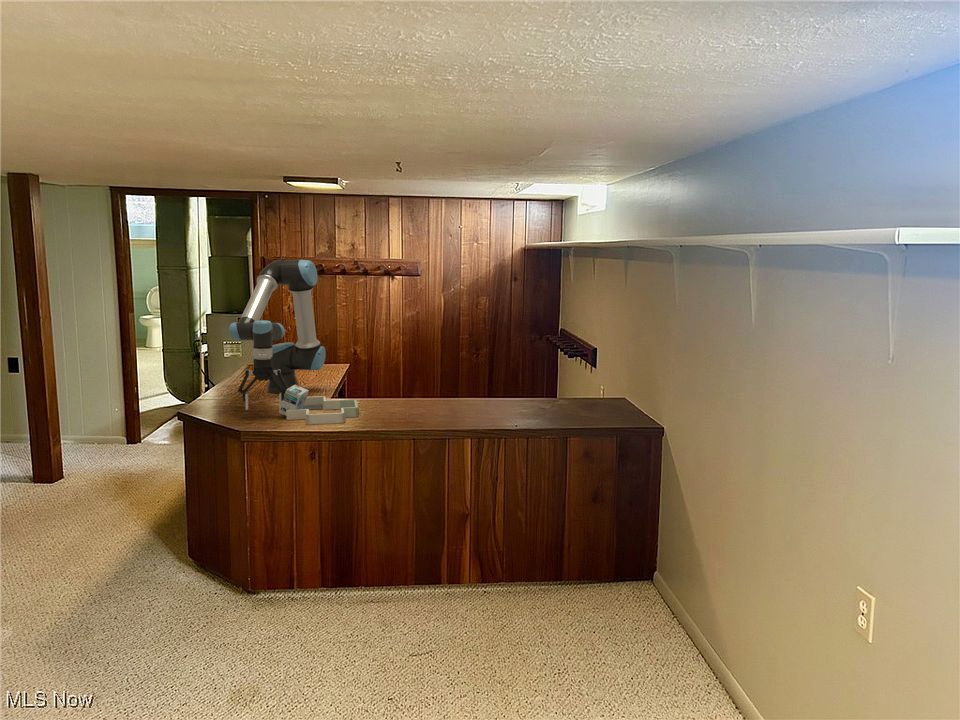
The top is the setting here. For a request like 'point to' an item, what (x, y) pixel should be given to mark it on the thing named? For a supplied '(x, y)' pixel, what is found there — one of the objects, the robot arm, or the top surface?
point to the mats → (313, 407)
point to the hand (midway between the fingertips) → (263, 408)
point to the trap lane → (346, 406)
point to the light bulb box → (293, 399)
